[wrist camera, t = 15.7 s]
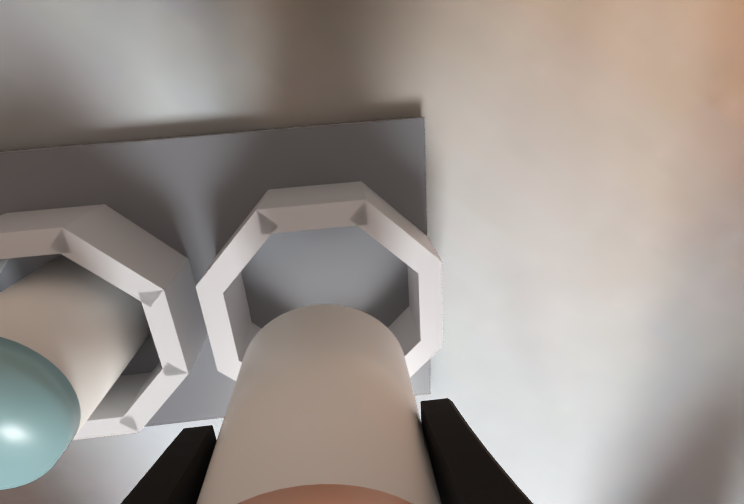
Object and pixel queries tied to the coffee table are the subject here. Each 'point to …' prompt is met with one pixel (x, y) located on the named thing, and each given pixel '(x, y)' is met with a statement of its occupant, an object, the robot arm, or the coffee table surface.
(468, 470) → the robot arm
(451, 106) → the coffee table surface
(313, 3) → the coffee table surface
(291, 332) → the rounded-end tube
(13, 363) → the teal-capped white cylinder
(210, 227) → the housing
